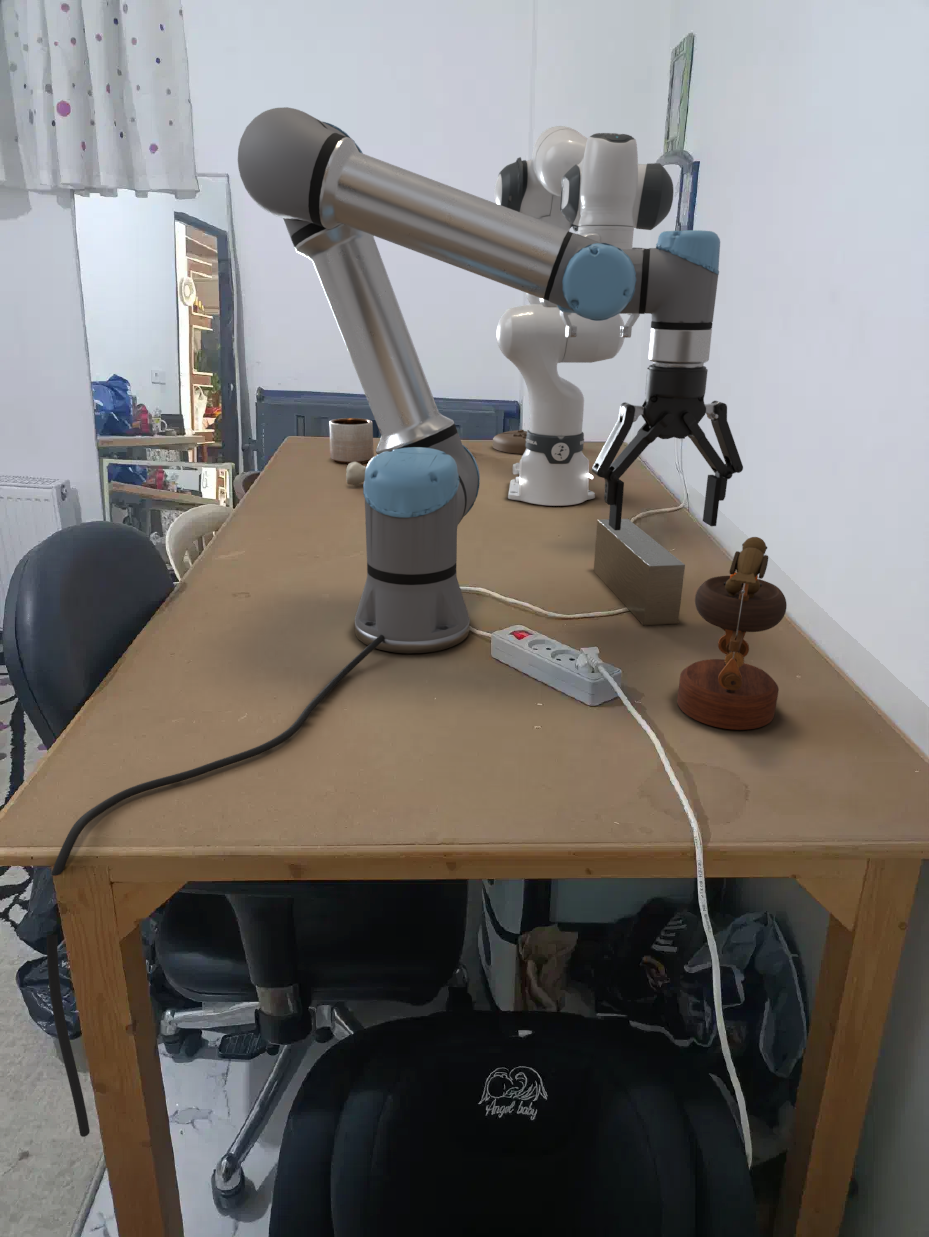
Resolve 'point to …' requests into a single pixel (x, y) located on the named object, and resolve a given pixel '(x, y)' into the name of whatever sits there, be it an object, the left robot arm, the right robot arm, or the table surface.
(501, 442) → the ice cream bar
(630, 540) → the bar
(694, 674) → the music box
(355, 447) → the planter
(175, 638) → the table surface
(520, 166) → the right robot arm
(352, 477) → the dog toy
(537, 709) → the table surface
